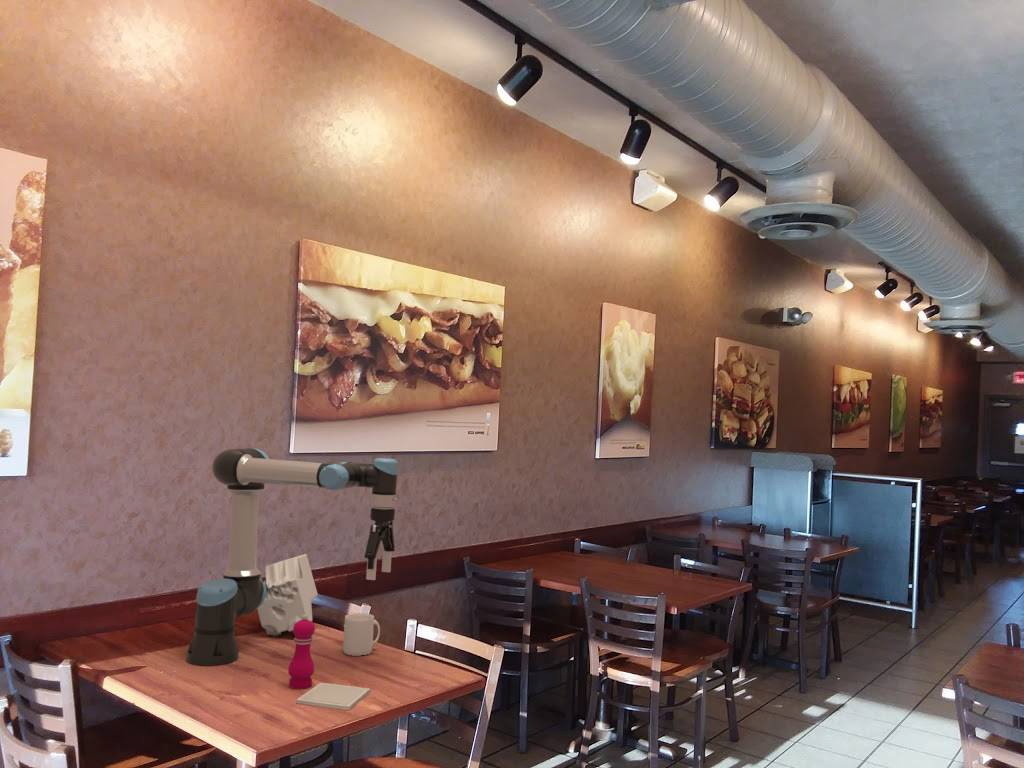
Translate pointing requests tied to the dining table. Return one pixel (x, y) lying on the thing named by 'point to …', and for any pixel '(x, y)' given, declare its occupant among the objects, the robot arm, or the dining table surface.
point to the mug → (359, 634)
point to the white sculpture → (287, 595)
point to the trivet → (333, 696)
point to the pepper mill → (302, 655)
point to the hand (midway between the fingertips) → (378, 575)
